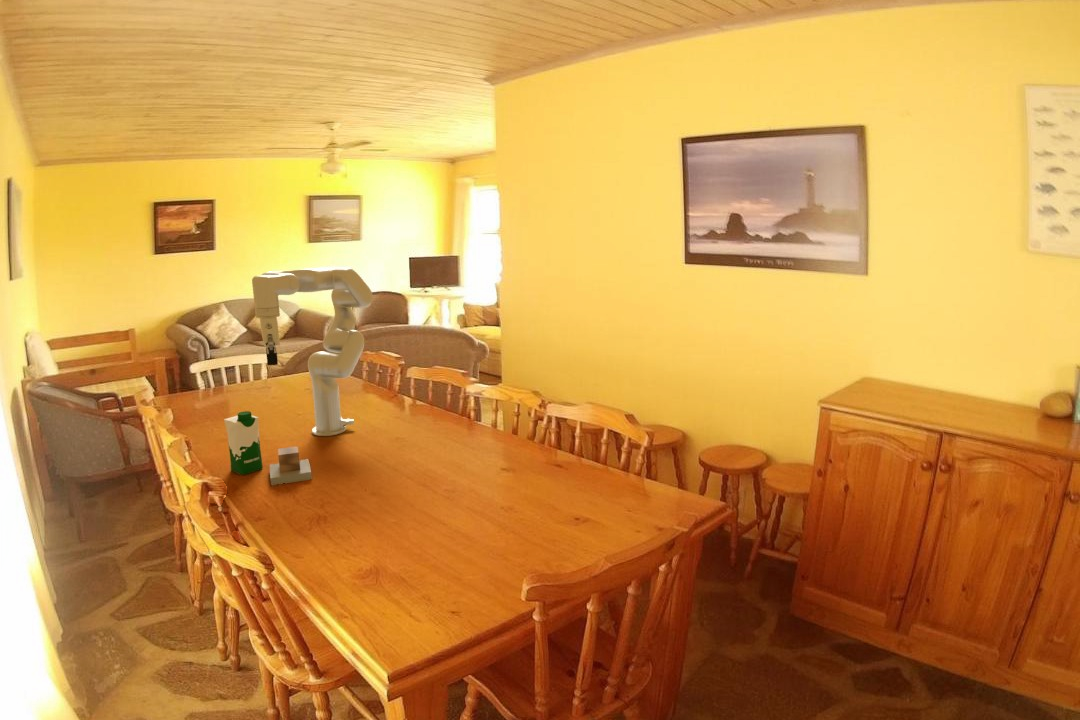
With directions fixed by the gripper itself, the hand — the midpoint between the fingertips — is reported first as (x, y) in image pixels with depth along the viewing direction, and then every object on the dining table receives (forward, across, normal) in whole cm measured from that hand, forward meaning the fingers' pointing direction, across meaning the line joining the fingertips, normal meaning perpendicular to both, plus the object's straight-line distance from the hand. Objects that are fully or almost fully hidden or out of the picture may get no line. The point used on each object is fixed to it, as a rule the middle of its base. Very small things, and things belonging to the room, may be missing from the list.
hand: (272, 361), depth 217 cm
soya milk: (+34, -11, +11) cm, 37 cm away
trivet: (+33, -22, -2) cm, 40 cm away
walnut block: (+31, -22, -2) cm, 38 cm away
